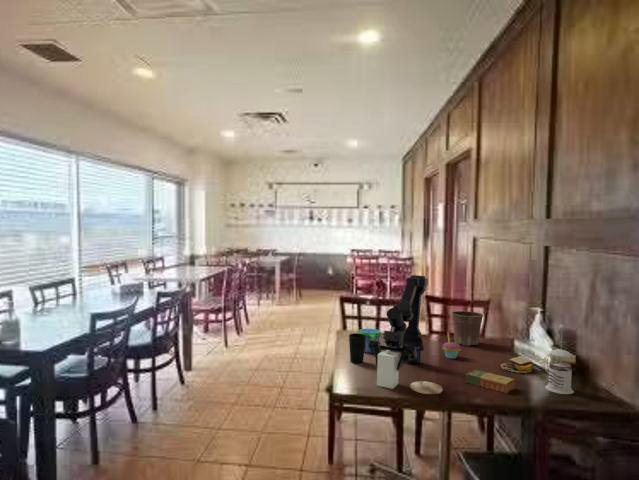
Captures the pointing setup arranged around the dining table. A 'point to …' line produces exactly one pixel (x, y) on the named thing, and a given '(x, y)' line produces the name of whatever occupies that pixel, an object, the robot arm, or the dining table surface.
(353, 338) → the cup
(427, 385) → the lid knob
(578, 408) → the dining table surface
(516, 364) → the toy sandwich meal
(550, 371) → the french press
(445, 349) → the cupcake
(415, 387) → the cork mat
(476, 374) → the carton
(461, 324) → the plant pot
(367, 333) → the snack cup
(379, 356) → the cover
